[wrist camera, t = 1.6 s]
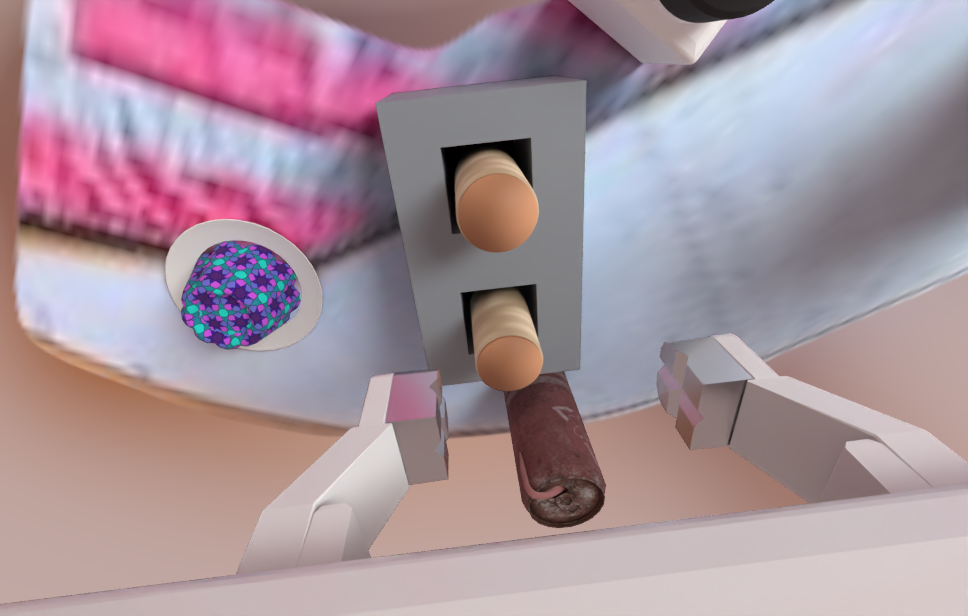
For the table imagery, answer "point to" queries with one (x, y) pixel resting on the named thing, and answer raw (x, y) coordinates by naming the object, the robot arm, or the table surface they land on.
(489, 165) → the peg
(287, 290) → the pudding
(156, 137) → the table surface
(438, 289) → the block
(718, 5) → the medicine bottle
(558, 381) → the can
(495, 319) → the peg
